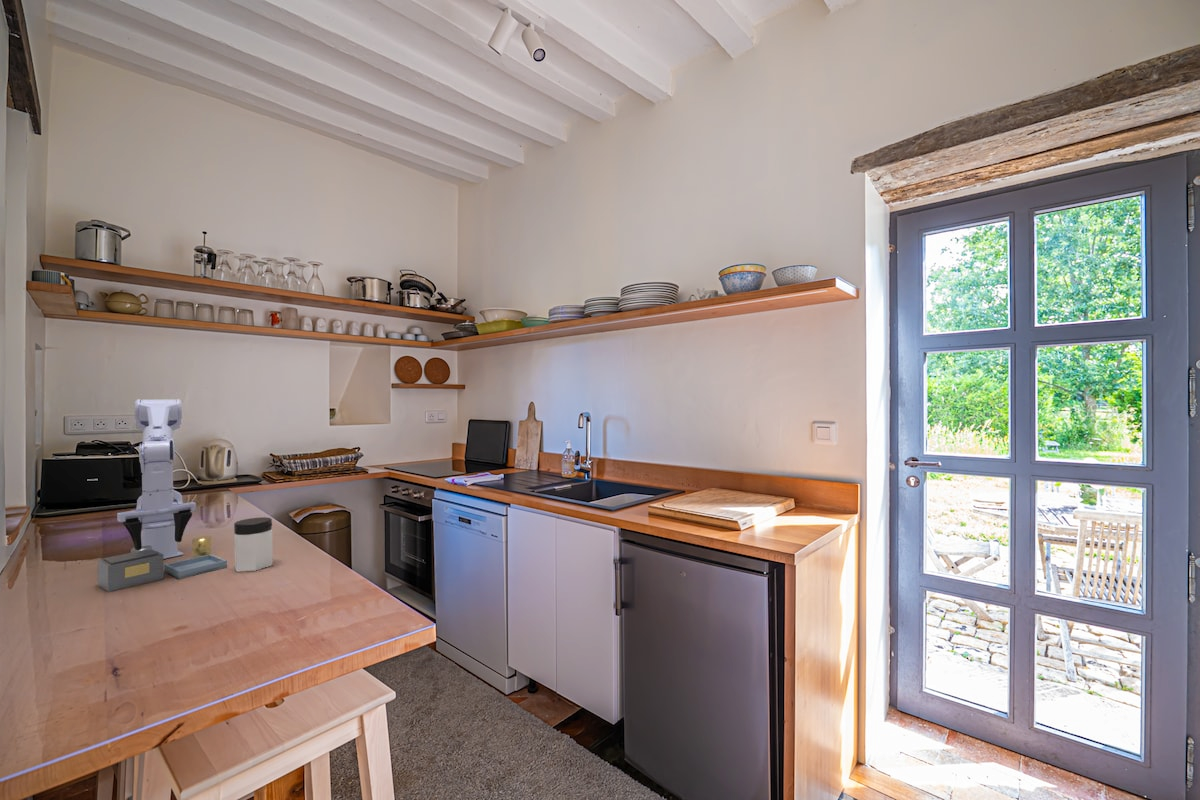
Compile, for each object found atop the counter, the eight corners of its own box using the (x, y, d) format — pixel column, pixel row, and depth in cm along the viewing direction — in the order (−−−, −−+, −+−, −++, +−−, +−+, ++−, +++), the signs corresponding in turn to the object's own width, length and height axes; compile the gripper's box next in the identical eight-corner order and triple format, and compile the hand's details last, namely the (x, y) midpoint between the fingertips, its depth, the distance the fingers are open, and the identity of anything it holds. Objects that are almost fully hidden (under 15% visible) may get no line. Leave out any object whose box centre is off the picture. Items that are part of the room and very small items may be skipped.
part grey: (128, 572, 129) (128, 548, 129) (149, 567, 133) (148, 544, 133) (134, 575, 127) (133, 551, 127) (154, 570, 131) (154, 547, 131)
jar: (274, 567, 132) (274, 521, 132) (236, 574, 127) (235, 526, 127) (270, 559, 139) (269, 515, 139) (233, 565, 134) (233, 520, 134)
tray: (164, 571, 129) (164, 564, 129) (211, 560, 138) (210, 554, 138) (179, 578, 124) (179, 571, 124) (226, 567, 132) (226, 560, 132)
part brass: (190, 560, 138) (189, 538, 138) (207, 556, 141) (207, 535, 141) (196, 563, 136) (195, 541, 136) (213, 559, 139) (213, 537, 139)
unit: (97, 584, 120) (97, 558, 120) (151, 572, 129) (151, 547, 129) (108, 592, 116) (108, 564, 116) (164, 578, 124) (163, 553, 124)
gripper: (123, 496, 116) (124, 555, 116) (200, 486, 128) (200, 540, 128) (114, 493, 120) (114, 550, 120) (189, 484, 132) (190, 536, 132)
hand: (158, 545), depth 124 cm, fingers open, 7 cm apart
